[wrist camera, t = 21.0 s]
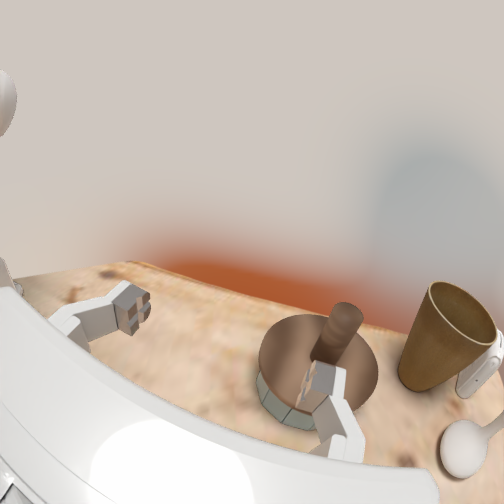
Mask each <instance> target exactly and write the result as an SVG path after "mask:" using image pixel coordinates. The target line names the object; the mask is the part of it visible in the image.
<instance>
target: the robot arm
mask: <svg viewBox="0 0 504 504" xmlns="http://www.w3.org/2000/svg"><path fill="white" fill-rule="evenodd" d="M16 102H17V95H16V88H15V85H14V82H13V80H12V79H11V77H10V76H9V75H8V74H7V73H5V72H4V71H2V70H1V69H0V137H1V136H3V135H4V133H5V132H6V130H7V129H8V127H9V125H10V123H11V121H12V119H13V116H14V113H15V109H16ZM22 294H23V288H22V286H21V285H20V284H18V283H16V282H14V281H12V278H11V276H10V273H9V271H8V268H7V266H6V263H5V261H4V259H1V258H0V504H439V501H440V491H439V488H438V486H437V484H436V482H435V480H434V478H433V477H432V475H431V474H430V472H429V471H428V470H427V469H425V468H408V467H391V466H380V465H371V464H363V456H364V449H365V440H366V439H365V437H364V435H363V433H362V431H361V429H360V427H359V425H358V423H357V421H356V419H355V417H354V415H353V413H352V410H351V408H350V406H349V404H348V402H347V400H345V399H344V390H345V381H346V369H343V368H340V367H336V366H334V365H330V364H327V363H324V362H320V361H317V360H315V361H313V363H312V364H311V369H309V370H307V372H306V374H305V376H304V378H303V380H302V383H301V387H300V388H301V393H300V394H299V395H298V398H297V402H296V406H295V408H298V409H301V410H305V411H308V412H311V413H312V416H313V419H314V423H315V426H316V429H317V432H318V436H319V439H320V442H321V444H320V445H319V446H317V447H316V448H314V449H313V450H311V451H310V452H309V453H304V452H300V451H296V450H293V449H289V448H285V447H282V446H278V445H275V444H272V443H268V442H265V441H262V440H259V439H256V438H253V437H250V436H247V435H245V434H242V433H239V432H236V431H234V430H231V429H229V428H226V427H223V426H221V425H218V424H216V423H214V422H211V421H209V420H207V419H204V418H202V417H200V416H198V415H195V414H193V413H191V412H189V411H187V410H185V409H183V408H181V407H178V406H176V405H174V404H172V403H170V402H169V401H167V400H165V399H163V398H161V397H159V396H157V395H155V394H153V393H152V392H150V391H148V390H146V389H144V388H143V387H141V386H139V385H138V384H136V383H134V382H132V381H131V380H129V379H128V378H126V377H124V376H123V375H121V374H119V373H118V372H116V371H115V370H113V369H112V368H110V367H109V366H107V365H106V364H104V363H103V362H101V361H100V360H98V359H97V358H95V357H94V356H93V355H91V354H90V353H91V349H90V346H89V344H88V342H90V341H92V340H95V339H97V338H99V337H102V336H104V335H107V334H109V333H112V332H114V331H117V330H118V329H119V330H121V331H123V332H124V333H126V334H128V335H130V336H132V335H133V334H134V333H135V332H136V331H137V330H138V328H139V323H143V322H145V320H146V319H147V318H148V316H149V314H150V310H151V305H150V303H149V302H148V300H149V299H150V293H148V292H146V291H145V290H143V289H141V288H139V287H137V286H135V285H133V284H131V283H130V282H128V281H126V280H123V281H121V282H120V283H119V284H118V285H117V286H116V287H114V288H113V289H112V290H111V291H110V292H109V293H108V294H107V295H105V296H104V297H97V298H93V299H89V300H84V301H80V302H76V303H72V304H68V305H64V306H62V307H61V308H59V309H58V310H57V311H56V312H55V313H54V314H53V315H52V316H50V317H49V318H48V319H45V318H44V317H43V316H42V315H41V314H40V313H39V312H38V311H37V310H35V309H34V308H33V307H32V306H31V305H30V304H29V303H28V302H27V301H26V300H25V299H24V298H23V297H22Z"/></svg>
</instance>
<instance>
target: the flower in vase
mask: <svg viewBox="0 0 504 504" xmlns="http://www.w3.org/2000/svg"><path fill="white" fill-rule="evenodd" d="M503 428H504V410H503V412H502V413H501V414H500V415H499V416H498V417H497V418H496V419H495V420H494V421H492V422H491V423H490V424H488V425H487V426H485V427H481V426H479V425H478V424H476V423H474V422H472V421H468V420H459V421H456V422H454V423H452V424H450V425H449V426H448V427H447V429H446V430H445V432H444V434H443V437H442V440H441V445H440V455H441V460H442V463H443V465H444V467H445V469H446V470H447V471H448V472H449V473H450V474H451V475H453V476H454V477H457V478H468V477H471V476H472V475H474V474H475V473H476V472H477V471H478V470H479V469H480V468H481V466H482V465H483V463H484V460H485V457H486V454H487V448H488V441H489V439H490V438H491V437H492V436H493V435H495V434H496V433H497V432H499V431H500V430H501V429H503Z"/></svg>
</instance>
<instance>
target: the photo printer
mask: <svg viewBox="0 0 504 504" xmlns="http://www.w3.org/2000/svg"><path fill="white" fill-rule="evenodd" d="M497 333H498V336H497V340H496V342H495V343H494V344H493V345H492V346H491V347H490V348H489V349H488V350H487V351H486V352H485V353H483V354H482V355H481V356H480V357H479V358H478V359H477V360H475V361H474V362H473V363H472V364H470V365H469V366H468V367H466V368H465V369H464V370H462V371H461V372H460V373H459V377H458V381H457V386H456V391H457V394H458V395H459V396H460V397H461V398H468V397H470V396H471V395H472V394H473V393H474V392H475V391H476V390H477V389H479V388H480V387H481V386H482V385H483V384H484V383H485V382H486V381H487V380H488V379H489V378H490V377H491V376H492V375H493V374H494V372H495V371H496V370H497V369H498V368H499V367H500V365H501V362H502V359H503V355H504V338H503V335H502V333H501V332H500V331H499V330H498V329H497Z"/></svg>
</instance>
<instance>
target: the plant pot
mask: <svg viewBox="0 0 504 504" xmlns="http://www.w3.org/2000/svg"><path fill="white" fill-rule="evenodd" d="M497 336H498V333H497V328H496V325H495V322H494V320H493V318H492V317H491V315H490V314H489V313H488V311H487V310H486V308H485V307H484V306H483V305H482V304H481V303H480V302H479V301H478V300H477V299H476V298H475V297H474V296H472V295H471V294H470V293H468V292H467V291H466V290H464V289H462V288H460V287H459V286H457V285H455V284H452V283H449V282H446V281H434V282H432V283H431V284H430V285H429V288H428V290H427V293H426V295H425V297H424V299H423V302H422V304H421V306H420V309H419V311H418V313H417V316H416V318H415V321H414V323H413V326H412V329H411V331H410V334H409V336H408V339H407V342H406V345H405V348H404V351H403V354H402V357H401V360H400V364H399V367H398V374H399V377H400V380H401V381H402V383H403V384H404V385H405V386H406V387H407V388H409V389H410V390H412V391H416V392H421V391H424V390H427V389H429V388H432V387H434V386H436V385H438V384H440V383H442V382H444V381H446V380H448V379H450V378H451V377H453V376H455V375H456V374H458V373H459V372H461V371H462V370H464V369H465V368H466V367H468V366H469V365H470V364H472V363H473V362H474V361H475V360H477V359H478V358H479V357H480V356H481V355H482V354H483V353H485V352H486V351H487V350H488V349H489V348H490V347H491V346H492V345H493V344H494V343H495V342H496V340H497Z"/></svg>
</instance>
